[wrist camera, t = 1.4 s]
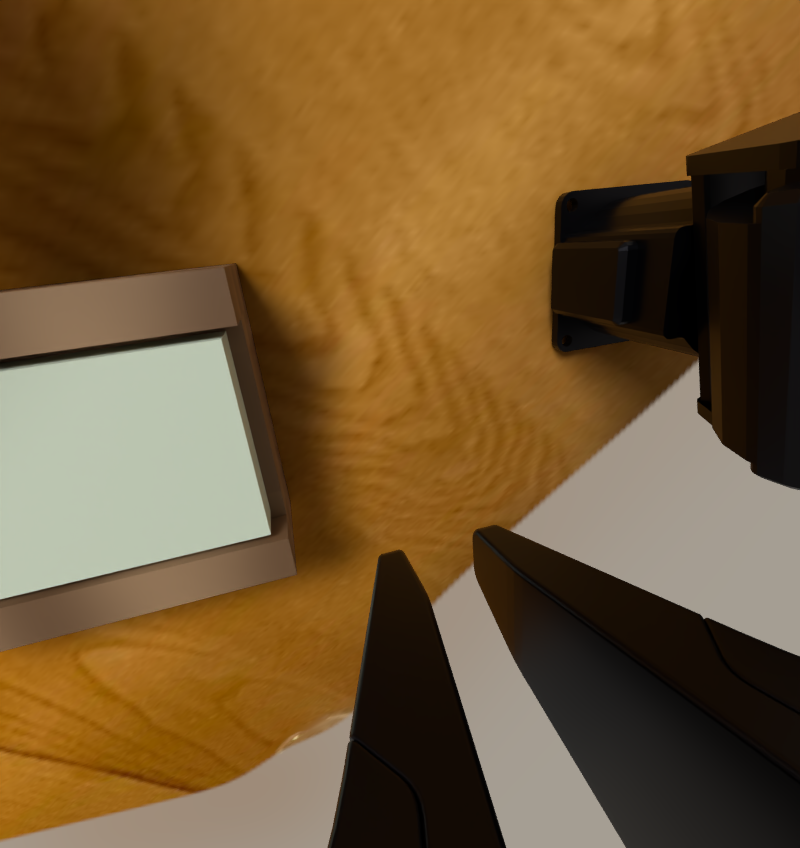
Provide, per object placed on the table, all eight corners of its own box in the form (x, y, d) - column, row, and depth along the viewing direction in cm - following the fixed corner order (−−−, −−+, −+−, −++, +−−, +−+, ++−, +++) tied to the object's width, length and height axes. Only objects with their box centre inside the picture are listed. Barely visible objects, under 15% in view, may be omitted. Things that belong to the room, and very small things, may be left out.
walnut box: (236, 263, 16) (223, 267, 12) (290, 501, 20) (296, 574, 15) (-258, 319, 13) (-530, 353, 9) (-84, 586, 17) (-211, 706, 12)
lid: (225, 330, 14) (219, 342, 12) (270, 510, 16) (271, 543, 14) (-336, 411, 11) (-457, 442, 9) (-180, 613, 13) (-250, 669, 11)
